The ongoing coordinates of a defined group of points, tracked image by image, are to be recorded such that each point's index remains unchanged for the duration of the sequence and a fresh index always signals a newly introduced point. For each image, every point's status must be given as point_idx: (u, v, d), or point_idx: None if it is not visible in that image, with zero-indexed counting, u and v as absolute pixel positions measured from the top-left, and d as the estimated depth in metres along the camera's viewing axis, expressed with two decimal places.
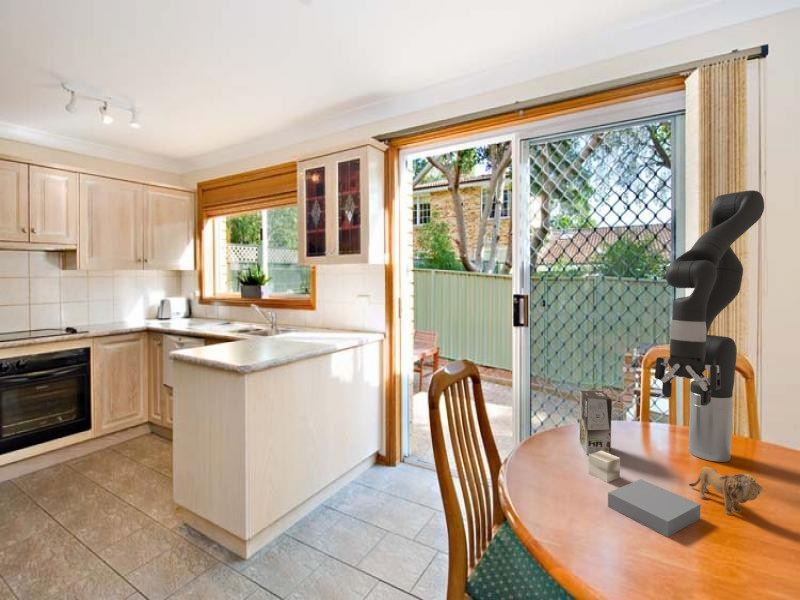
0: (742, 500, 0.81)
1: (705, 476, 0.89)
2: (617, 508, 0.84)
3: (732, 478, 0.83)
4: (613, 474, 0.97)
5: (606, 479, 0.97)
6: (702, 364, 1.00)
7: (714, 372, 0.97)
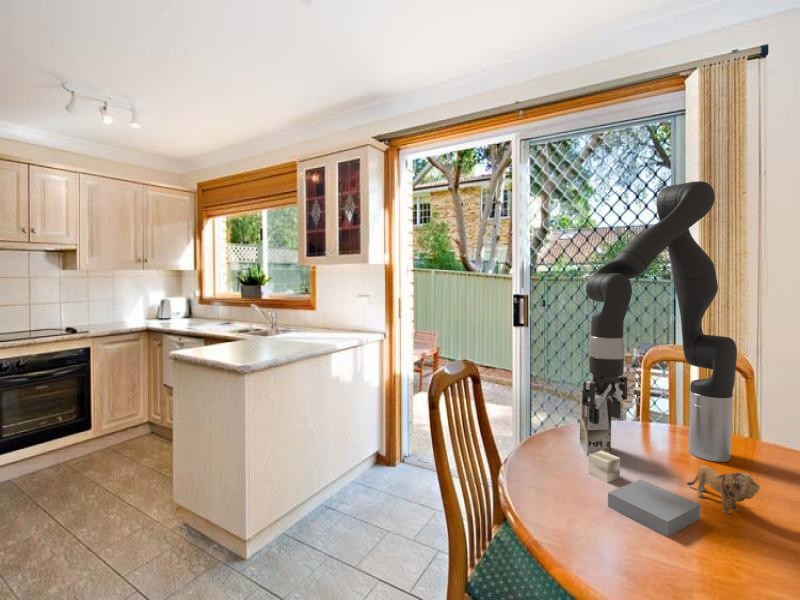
0: (739, 499, 0.81)
1: (703, 475, 0.89)
2: (617, 508, 0.84)
3: (730, 477, 0.83)
4: (613, 474, 0.97)
5: (606, 479, 0.97)
6: None
7: (626, 383, 1.01)
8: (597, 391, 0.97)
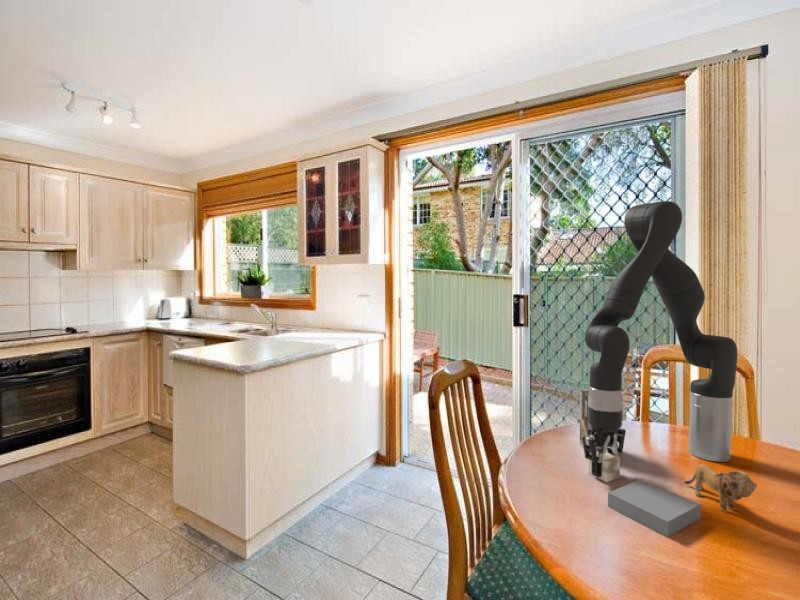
0: (736, 497, 0.82)
1: (700, 474, 0.90)
2: (617, 508, 0.84)
3: (727, 475, 0.84)
4: (613, 473, 0.97)
5: (606, 479, 0.97)
6: None
7: (624, 436, 1.01)
8: None
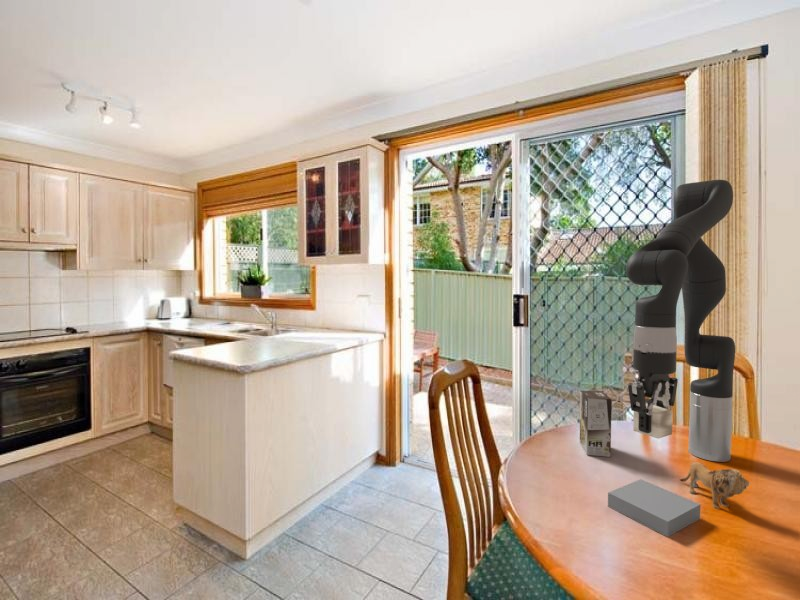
0: (728, 494, 0.83)
1: (694, 471, 0.91)
2: (617, 508, 0.84)
3: (719, 473, 0.85)
4: (664, 429, 0.81)
5: (657, 434, 0.80)
6: None
7: (676, 386, 0.85)
8: (645, 393, 0.82)
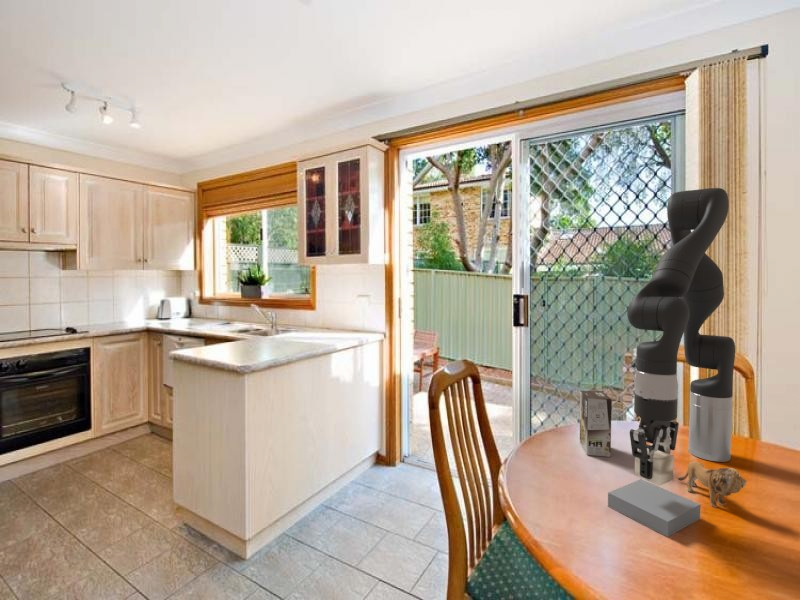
0: (726, 493, 0.84)
1: (692, 470, 0.92)
2: (617, 508, 0.84)
3: (717, 472, 0.85)
4: (666, 475, 0.81)
5: (658, 481, 0.80)
6: None
7: (677, 430, 0.85)
8: (647, 438, 0.82)
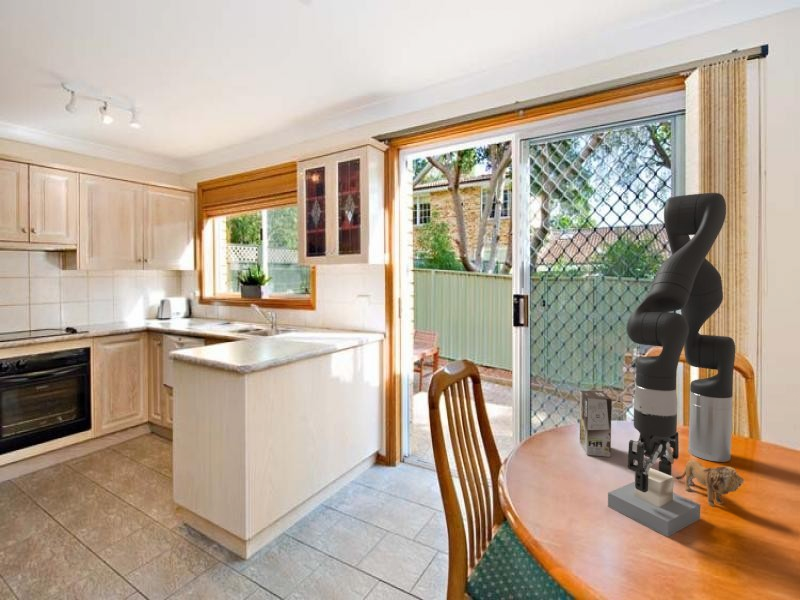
0: (723, 492, 0.84)
1: (690, 469, 0.92)
2: (617, 508, 0.84)
3: (714, 470, 0.86)
4: (665, 496, 0.81)
5: (658, 503, 0.80)
6: None
7: (677, 439, 0.85)
8: (645, 452, 0.82)
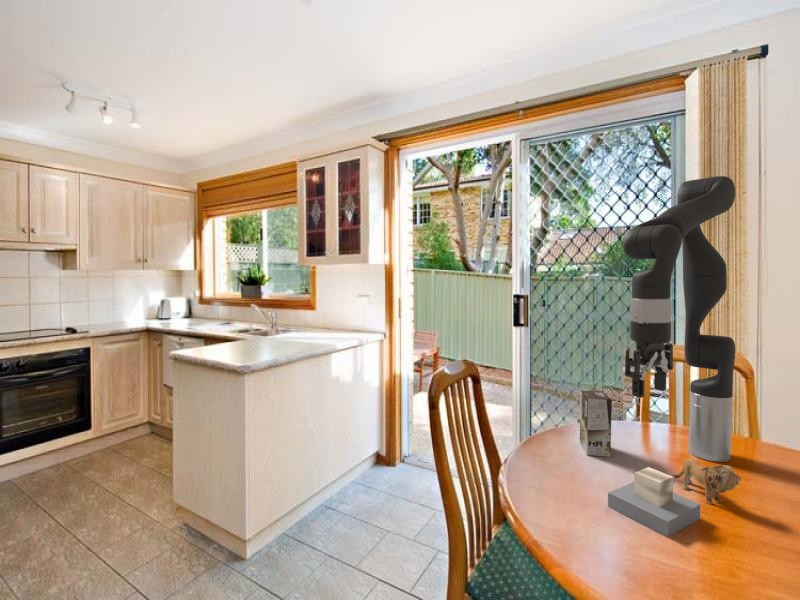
0: (721, 490, 0.85)
1: (688, 468, 0.93)
2: (617, 508, 0.84)
3: (712, 469, 0.86)
4: (665, 496, 0.81)
5: (658, 503, 0.80)
6: None
7: (672, 350, 0.89)
8: (641, 360, 0.86)
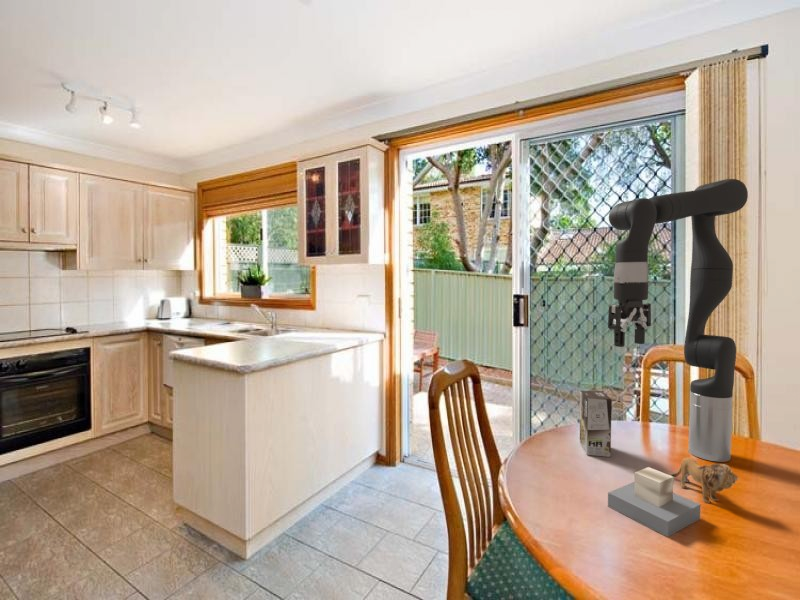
0: (718, 489, 0.85)
1: (685, 466, 0.93)
2: (617, 508, 0.84)
3: (709, 468, 0.87)
4: (665, 496, 0.81)
5: (658, 503, 0.80)
6: None
7: (650, 309, 1.03)
8: (622, 315, 1.00)
